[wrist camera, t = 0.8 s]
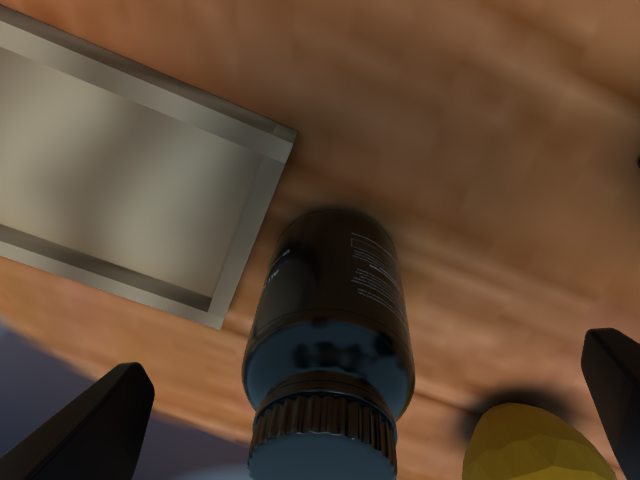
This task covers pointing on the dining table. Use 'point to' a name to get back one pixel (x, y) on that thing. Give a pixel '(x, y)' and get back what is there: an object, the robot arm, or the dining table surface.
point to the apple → (530, 448)
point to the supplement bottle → (329, 354)
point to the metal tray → (128, 173)
